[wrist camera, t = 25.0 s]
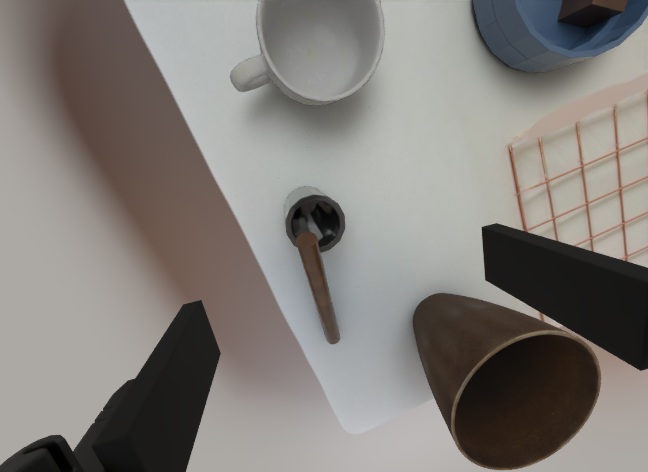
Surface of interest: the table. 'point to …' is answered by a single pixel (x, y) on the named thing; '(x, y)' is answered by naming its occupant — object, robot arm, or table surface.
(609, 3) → the block walnut
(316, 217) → the stick holder
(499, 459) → the flower pot
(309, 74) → the teacup
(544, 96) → the table surface
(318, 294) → the stir stick
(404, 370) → the table surface
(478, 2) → the bowl
